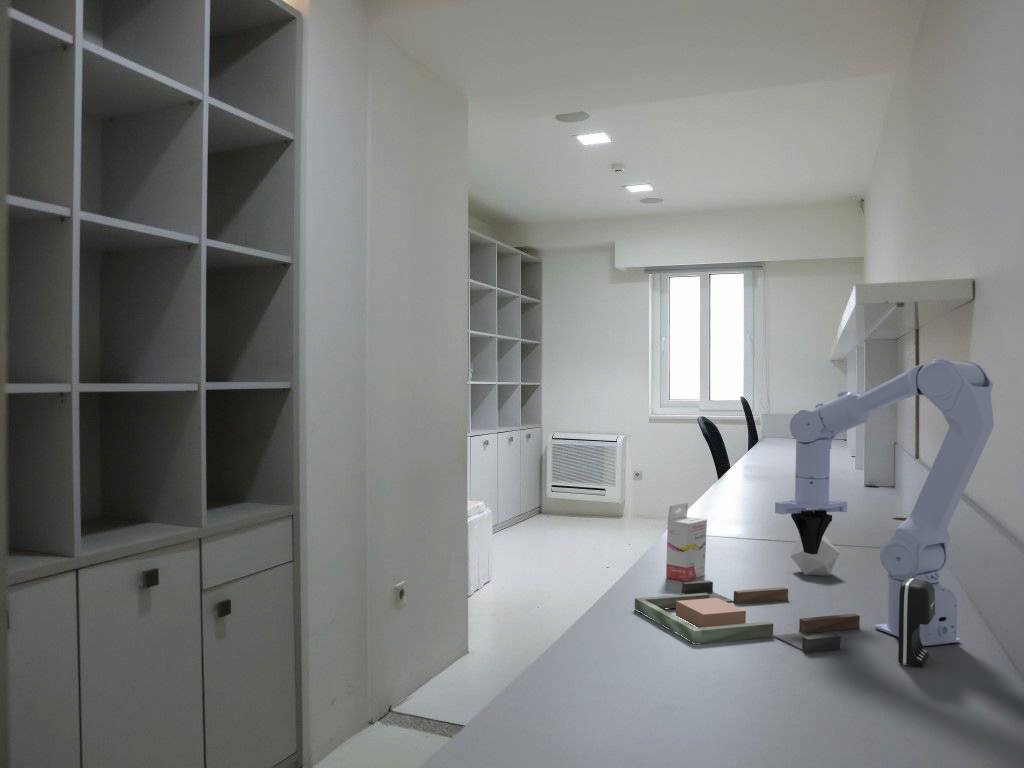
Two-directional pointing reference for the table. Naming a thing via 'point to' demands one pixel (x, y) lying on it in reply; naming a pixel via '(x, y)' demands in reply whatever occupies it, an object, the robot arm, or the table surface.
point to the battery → (914, 620)
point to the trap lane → (749, 630)
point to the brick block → (710, 612)
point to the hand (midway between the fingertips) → (810, 553)
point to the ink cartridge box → (685, 545)
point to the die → (816, 558)
